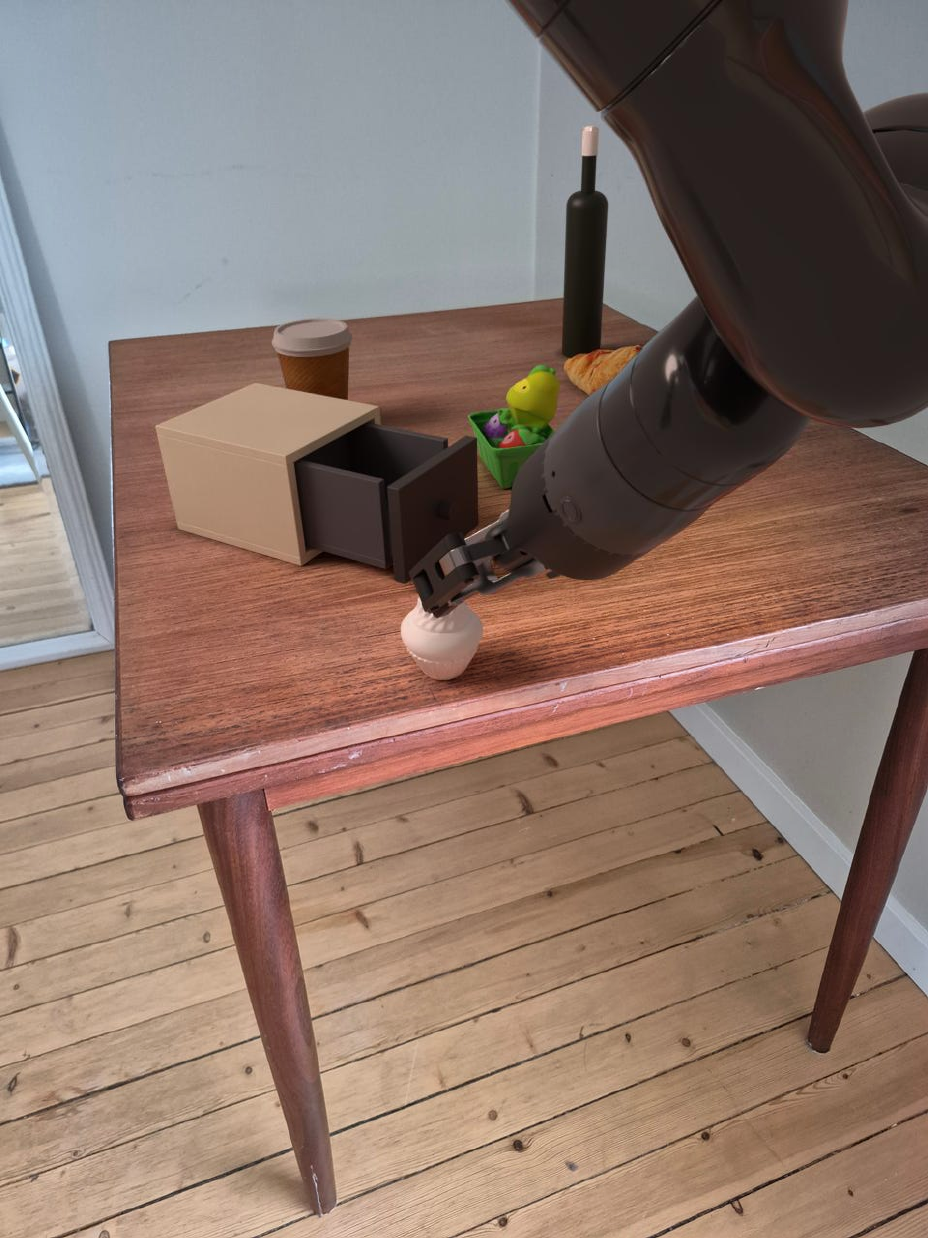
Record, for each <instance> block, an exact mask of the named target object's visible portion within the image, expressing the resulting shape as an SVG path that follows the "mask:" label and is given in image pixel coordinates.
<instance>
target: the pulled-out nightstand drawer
mask: <svg viewBox="0 0 928 1238" xmlns="http://www.w3.org/2000/svg"><path fill="white" fill-rule="evenodd" d="M293 463H294V470H295V477H296V484H297V491H298V499H299V506H300V513H301V520H302V527H303V535H304V542H305V546H307V547H311V548H314V549H318V550H321V551H323V552H325V553H328V554H331V555H335V556H338V557H342V558H345V559H349V560H351V561H352V560H353V561H356V562H360V563H363V564H366V565H370V566H374V567H377V568H381V569H384V570H387V569H388V568H390V567H391V566H392V565H393V566H392V567H393V580H394V582H398V583H401V584H403V585H406V584H407V583H409V582H410V581H412V580H411V578H410V575H409V573H408V572H409V571H410V570H411V569H412V568H413V567H414V566H415V565H416V564H417V563H418V562H419V561H420V560H421V559H422V558H423V557H424V556H426V555H427V554H428V553H429V552H430V551H431V550H432V549H433V548H434V547H435V546H436V545H437V544H438V543H439V542H440V541H441V540H442V539H444V538H445V536H446V535H448V534H450V533H459V532H461V533H462V535H463V537H464V538H466V536H467V535H469V534H470V533H471V532H472V531H474V530H475V529H476V528H477V527H478V526H479V521H480V519H479V477H478V476H479V475H478V474H479V472H478V471H479V470H478V469H479V467H478V446H477V438H476V437H475V436H470V435H465V436H463V437H462V438H460V439H458V440H457V441H455V442H454V443H452V444H451V445H449V438H447V437H443V436H438V435H433V434H427V433H424V432H423V433H422V432H419V431H417V432H416V431H413V430H408V429H403V428H398V427H393V426H389V425H383V424H381V425H379V424H374V423H369V422H366V423H364V424H362V425H361V426H359V427H357V428H355V429H353V430H351V431H350V432H348V433H346V434H344V435H342V436H340V437H339V438H337V439H335V440H333V441H331V442H329V443H328V444H326V445H324V446H322V447H320V448H318V449H317V450H315V451H313V452H311V453H309V454H307V455H306V456H304V457H302V458H300V459H298V460H296V461H295V462H293Z"/></svg>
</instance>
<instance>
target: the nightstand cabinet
mask: <svg viewBox="0 0 928 1238" xmlns="http://www.w3.org/2000/svg"><path fill="white" fill-rule="evenodd" d="M380 410H381V409H380V406H379V405H374V404H369V403H363V402H359V401H353V400H349V399H348V400H343V399H338V398H333V397H327V396H322V395H317V394H312V393H306V392H301V391H296V390H291V389H287V388H286V387H280V386H273V385H270V384H263V383H259V382H254V383H252V384H249V385H247V386H245V387H243V388H240V389H237V390H235V391H233V392H230V393H228V394H226V395H223V396H221V397H219V398H216V399H214V400H212V401H209V402H207V403H205V404H203V405H200V406H198V407H196V408H193V409H192V410H189V411H186V412H184V413H182V414H178V415H177V416H175V417H172V418H170V419H168V420H165V421H163V422H161V423H158V424H155V426H154V427H155V428H154V429H155V431H156V436H157V440H158V445H159V451H160V455H161V459H162V464H163V468H164V472H165V478H166V482H167V486H168V490H169V494H170V499H171V503H172V508H173V512H174V517H175V522H176V525H177V530H180V531H183V532H186V533H190V534H193V535H196V536H200V537H203V538H207V539H209V540H213V541H217V542H220V543H223V544H227V545H230V546H233V547H236V548H240V549H243V550H246V551H250V552H253V553H257V554H260V555H262V556H267V557H270V558H273V559H276V560H278V561H279V560H280V561H282V562H287V563H288V564H289V563H290V564H293V565H296V566H300V567H302V566H304V565H305V564H307V563H308V562H310V561H311V560H312V559H314V558H316V557H317V556H318V555H320V554H322V553H323V552H324V551H321V550H318V549H314V548H311V547H307V546H305V542H304V535H303V527H302V520H301V513H300V506H299V499H298V491H297V484H296V477H295V470H294V463H293V462H295V461H296V460H298V459H300V458H302V457H304V456H306V455H307V454H309V453H311V452H313V451H315V450H317V449H318V448H320V447H322V446H324V445H326V444H328V443H329V442H331V441H333V440H335V439H337V438H339V437H340V436H342V435H344V434H346V433H348V432H350V431H351V430H353V429H355V428H357V427H359V426H361V425H362V424H364V423H366V422H369V423H374V424H379V425H382V422H381V412H380Z"/></svg>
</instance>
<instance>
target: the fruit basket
mask: <svg viewBox="0 0 928 1238" xmlns="http://www.w3.org/2000/svg"><path fill="white" fill-rule="evenodd" d="M556 373H557V370H556V369H554V368H551V367H549V366H548V365H545V364H538V365H535V366H534V367H533V368H532V369H531V371H530V372H529V373H528V376H527V377H525V378H522V379H521V380H520V381H518V382H516V383H515V384H514V385H513V386H511V387H510V388H509V390H508V391H507V393H506V397H505V399H506V402H507V403H506V404H507V406H508V408H506V407H501V408H498V409H496V410H486V411H478V412H473V413H469V414H468V415H467V418H468V421H469V425H470V427H471V428H472V432H473V435H474V437H476V438H477V451H478V454H479V457H480V460H481V461H482V462H483V464H485V466H486V468H487V469H488V471H489V472H490V473H491V476H492V477H493V478H494V479H495V481H497V483H498V485H499V486H500V488H501V489H503V490H505V489H510V488H512V487H513V483H514V480H515V478H516V475H517V473H518V471H519V470H520V468H521V467H522V465H523V464H524V463H525V462H526V461H527V460H528V459H529V457H530V456H531V455H532V454H533V453H534V452H535V451H536V450H537V449H538V448H539V447H540V446H541V445H542V444H543V443H544V442H545V441H546V440H547V438H548V437H549V436H550V435H551V434H552V433H553V432H554V431H555V430H554V429H553V428H552V427H551V425H550V423H551V422H552V420H553V419H554V417H555V415H556V412H557V408H558V396H559V393H560V389H561V383H560V381H559V379H558V377H557V376H556Z"/></svg>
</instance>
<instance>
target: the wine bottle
mask: <svg viewBox="0 0 928 1238" xmlns="http://www.w3.org/2000/svg"><path fill="white" fill-rule="evenodd" d="M599 128H600V126H598V125H586V126H582V130H581V131H582V132H581V172H580V173H581V174H580V190H577V191H575V192H573V193H572V194H571V195H570V196H569V197H568V199H567V201H566V205H565V206H566V207H565V208H566V209H565V238H564V265H563V267H564V270H563V271H564V272H563V302H562V330H561V354H562V356H564V357H567V358H573V357H574V356H576V355H579V354H589V353H591V352H593V351H596V350H601V349H602V348H601V346H602V345H601V344H602V327H603V310H604V292H605V274H606V273H605V272H606V259H607V258H606V257H607V256H606V254H607V237H608V236H607V235H608V219H609V217H608V216H609V201H608V198H607V196H606V195H605V194H604V192H602V191H599V190H596V183H597V182H596V181H597V180H596V179H597V157H598V154H599V153H598V152H599V131H600V129H599Z"/></svg>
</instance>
